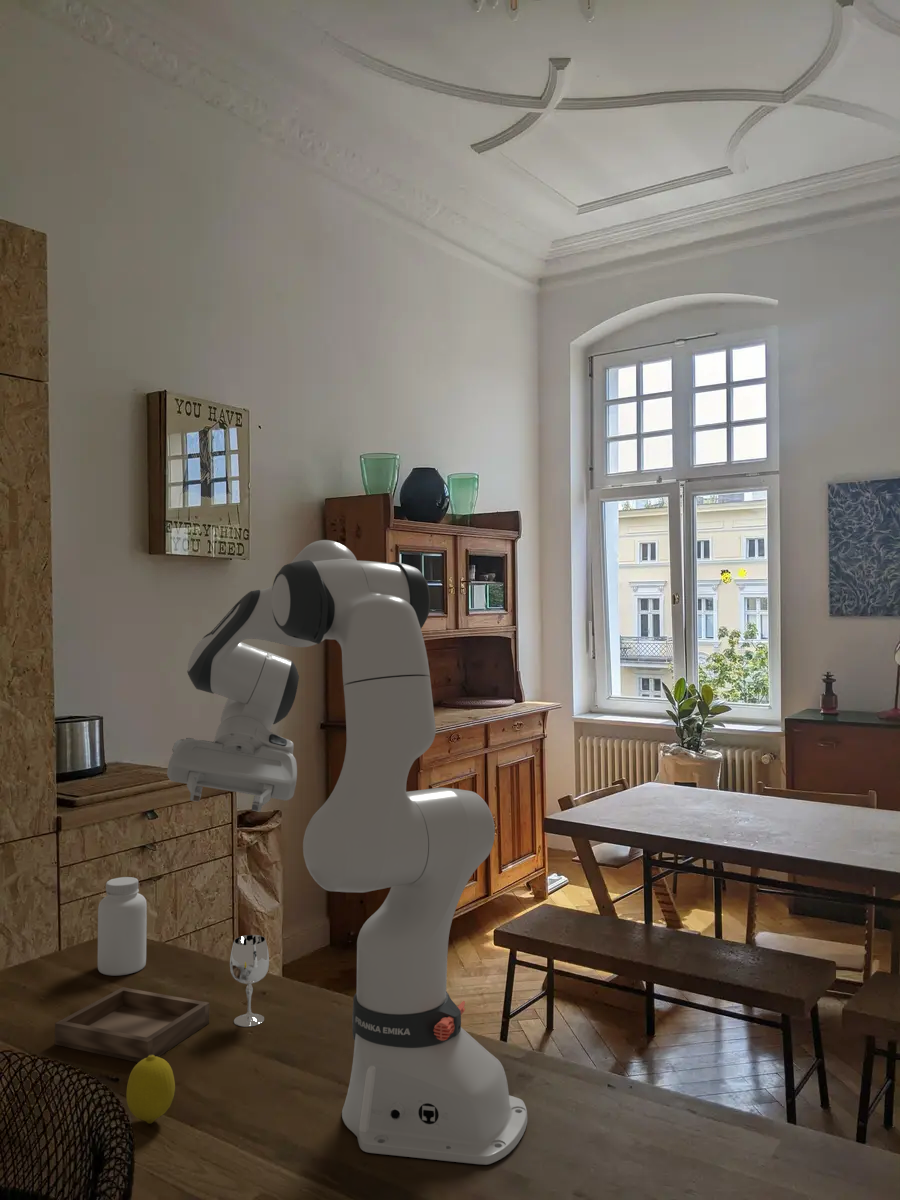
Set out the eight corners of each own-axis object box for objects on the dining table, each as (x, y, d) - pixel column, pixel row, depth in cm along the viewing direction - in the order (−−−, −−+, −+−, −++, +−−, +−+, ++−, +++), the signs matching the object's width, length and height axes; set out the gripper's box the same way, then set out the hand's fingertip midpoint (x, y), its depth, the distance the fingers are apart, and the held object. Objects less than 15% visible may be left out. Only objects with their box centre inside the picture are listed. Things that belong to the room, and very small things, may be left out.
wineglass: (276, 1018, 143) (277, 938, 143) (249, 1032, 138) (250, 949, 138) (248, 1009, 146) (249, 931, 146) (221, 1022, 141) (222, 941, 141)
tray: (209, 1023, 141) (209, 1002, 141) (147, 1064, 128) (147, 1041, 128) (122, 1006, 146) (122, 987, 147) (54, 1044, 133) (55, 1023, 133)
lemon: (157, 1106, 117) (157, 1040, 117) (183, 1121, 113) (184, 1054, 113) (116, 1124, 113) (117, 1056, 113) (142, 1140, 109) (143, 1071, 109)
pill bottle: (87, 975, 159) (89, 885, 160) (112, 958, 167) (113, 873, 167) (131, 978, 158) (132, 888, 158) (154, 961, 166) (155, 875, 166)
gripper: (179, 721, 154) (159, 775, 142) (303, 743, 157) (294, 798, 145) (174, 751, 157) (155, 807, 145) (296, 772, 160) (287, 829, 148)
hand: (225, 803), depth 145 cm, fingers open, 8 cm apart
